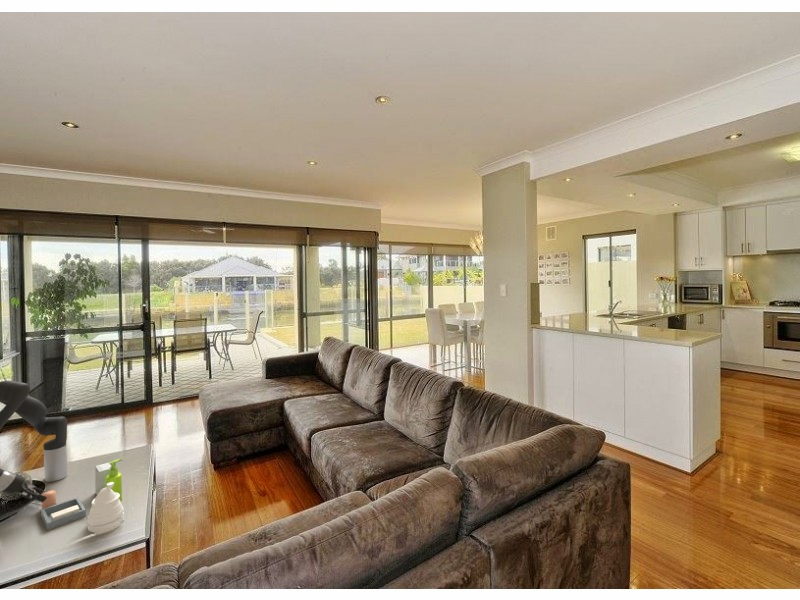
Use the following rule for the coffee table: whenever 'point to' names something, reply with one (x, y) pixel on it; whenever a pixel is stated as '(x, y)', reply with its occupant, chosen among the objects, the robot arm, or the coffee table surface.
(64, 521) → the tray
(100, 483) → the skincare box
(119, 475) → the soap dispenser
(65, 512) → the cream rectangular block
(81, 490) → the coffee table surface
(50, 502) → the peach rounded ovoid
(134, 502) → the coffee table surface
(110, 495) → the honey pot
